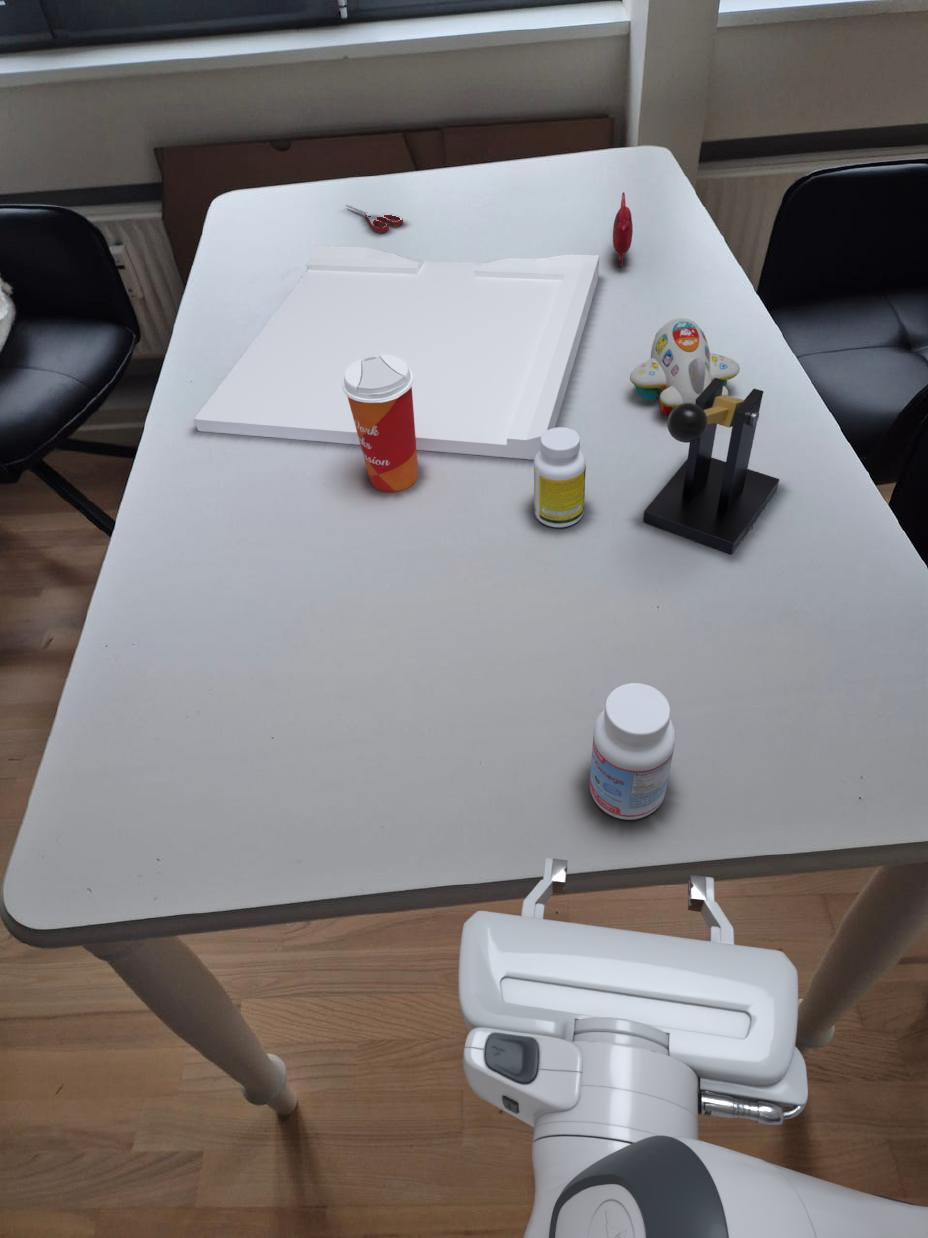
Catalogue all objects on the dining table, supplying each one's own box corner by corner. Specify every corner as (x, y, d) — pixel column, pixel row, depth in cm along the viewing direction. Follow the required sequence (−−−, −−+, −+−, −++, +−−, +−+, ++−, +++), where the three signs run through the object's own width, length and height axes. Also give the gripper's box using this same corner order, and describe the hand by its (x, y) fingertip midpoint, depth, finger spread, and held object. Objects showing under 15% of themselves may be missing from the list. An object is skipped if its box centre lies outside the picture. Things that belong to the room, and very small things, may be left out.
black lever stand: (731, 554, 88) (754, 442, 78) (642, 521, 92) (653, 411, 82) (776, 489, 94) (803, 378, 84) (691, 461, 98) (707, 352, 88)
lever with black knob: (692, 449, 74) (704, 410, 73) (656, 438, 76) (667, 399, 74) (742, 431, 85) (753, 397, 84) (710, 421, 87) (720, 387, 85)
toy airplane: (647, 375, 96) (621, 303, 106) (639, 438, 103) (615, 365, 113) (765, 364, 96) (728, 293, 106) (749, 427, 103) (716, 355, 113)
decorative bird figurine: (610, 283, 129) (614, 214, 121) (612, 231, 140) (615, 166, 133) (630, 282, 128) (635, 214, 121) (630, 231, 140) (634, 165, 133)
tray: (198, 430, 110) (189, 406, 108) (319, 267, 139) (315, 245, 137) (545, 460, 101) (545, 435, 98) (598, 278, 130) (599, 255, 127)
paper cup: (355, 466, 103) (333, 361, 92) (417, 450, 104) (402, 345, 94) (370, 505, 98) (348, 398, 87) (435, 489, 99) (421, 381, 88)
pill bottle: (577, 773, 72) (580, 690, 64) (642, 748, 73) (654, 663, 65) (610, 834, 68) (618, 753, 60) (679, 807, 69) (696, 724, 61)
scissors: (380, 234, 146) (380, 228, 145) (334, 212, 154) (333, 207, 153) (405, 223, 148) (405, 217, 148) (358, 202, 156) (357, 197, 155)
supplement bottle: (593, 520, 93) (596, 445, 86) (547, 534, 92) (547, 460, 85) (570, 491, 97) (571, 417, 89) (526, 505, 95) (524, 431, 88)
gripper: (825, 1117, 44) (801, 868, 53) (435, 1053, 48) (475, 829, 57) (799, 1146, 49) (781, 912, 58) (445, 1085, 52) (481, 874, 61)
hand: (627, 871), depth 57 cm, fingers open, 8 cm apart
